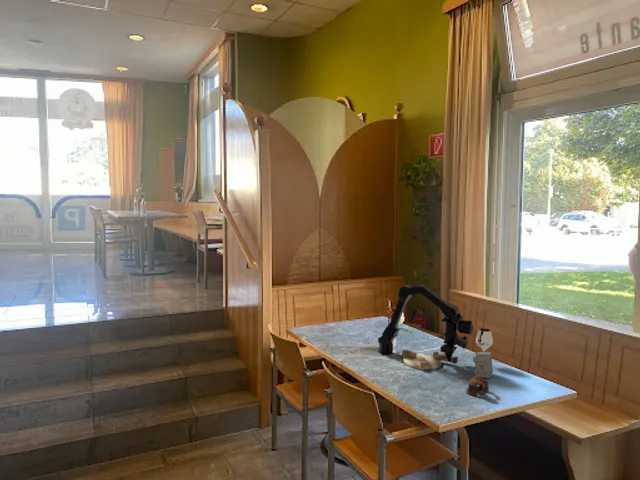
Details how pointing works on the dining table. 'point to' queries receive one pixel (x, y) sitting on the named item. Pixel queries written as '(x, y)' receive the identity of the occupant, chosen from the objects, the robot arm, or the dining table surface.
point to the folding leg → (444, 357)
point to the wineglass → (484, 338)
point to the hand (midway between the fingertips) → (449, 361)
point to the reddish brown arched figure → (477, 390)
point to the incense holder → (483, 364)
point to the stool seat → (420, 360)
